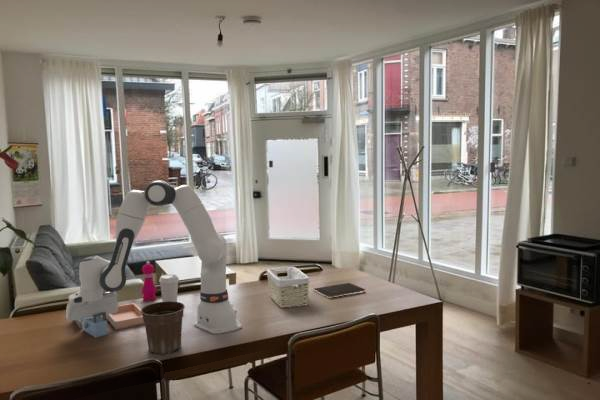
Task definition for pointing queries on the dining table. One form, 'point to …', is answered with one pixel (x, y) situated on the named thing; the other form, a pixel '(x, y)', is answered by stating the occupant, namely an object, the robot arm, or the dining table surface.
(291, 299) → the storage basket
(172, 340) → the plant pot
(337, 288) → the hardcover book
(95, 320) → the small pale blue carton
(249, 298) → the dining table surface
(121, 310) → the tray
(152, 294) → the pepper mill
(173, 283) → the coffee cup
